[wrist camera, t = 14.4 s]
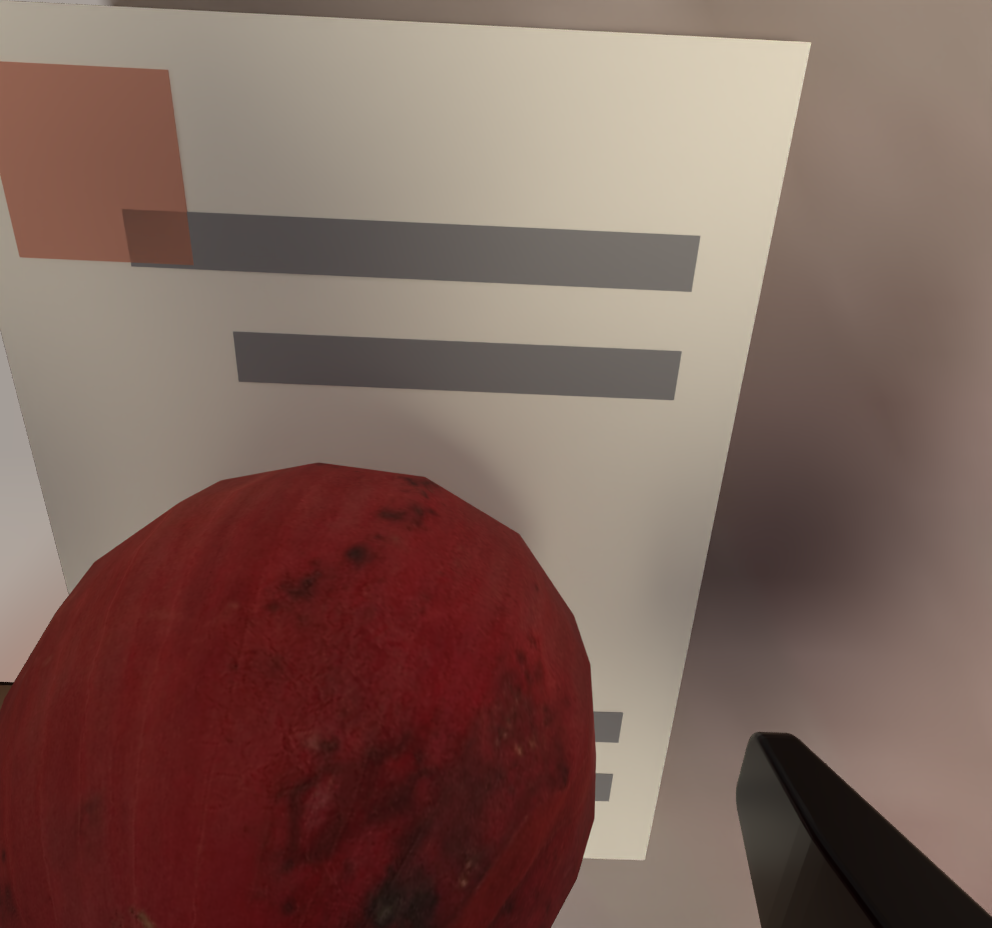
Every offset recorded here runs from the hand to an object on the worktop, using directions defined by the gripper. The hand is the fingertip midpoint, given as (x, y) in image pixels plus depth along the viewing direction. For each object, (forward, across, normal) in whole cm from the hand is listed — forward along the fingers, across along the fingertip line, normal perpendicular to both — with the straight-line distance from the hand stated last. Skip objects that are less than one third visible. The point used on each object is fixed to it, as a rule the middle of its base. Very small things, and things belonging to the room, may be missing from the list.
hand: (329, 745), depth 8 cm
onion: (+4, 0, 0) cm, 4 cm away
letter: (+4, 0, 0) cm, 4 cm away
